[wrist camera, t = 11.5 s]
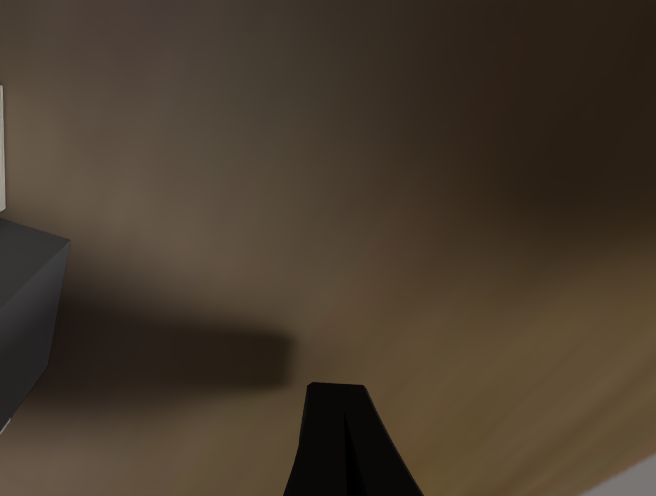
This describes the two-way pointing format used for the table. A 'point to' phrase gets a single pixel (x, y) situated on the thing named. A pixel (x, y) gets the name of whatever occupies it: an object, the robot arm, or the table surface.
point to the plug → (27, 308)
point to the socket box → (2, 169)
